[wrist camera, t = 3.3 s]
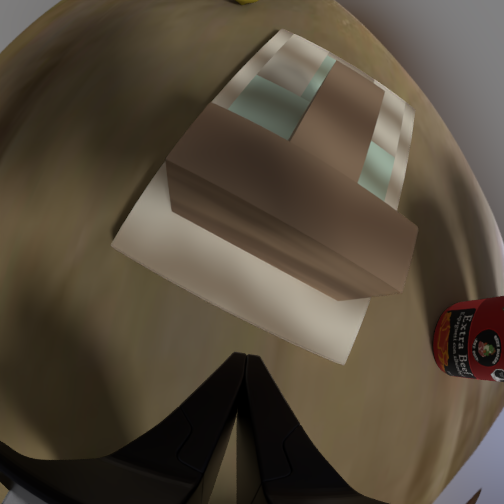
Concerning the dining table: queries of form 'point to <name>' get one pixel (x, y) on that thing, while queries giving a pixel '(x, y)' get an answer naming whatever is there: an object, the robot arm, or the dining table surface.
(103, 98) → the dining table surface
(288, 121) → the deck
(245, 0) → the lemon
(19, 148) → the dining table surface
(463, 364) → the canned food
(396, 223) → the t block
